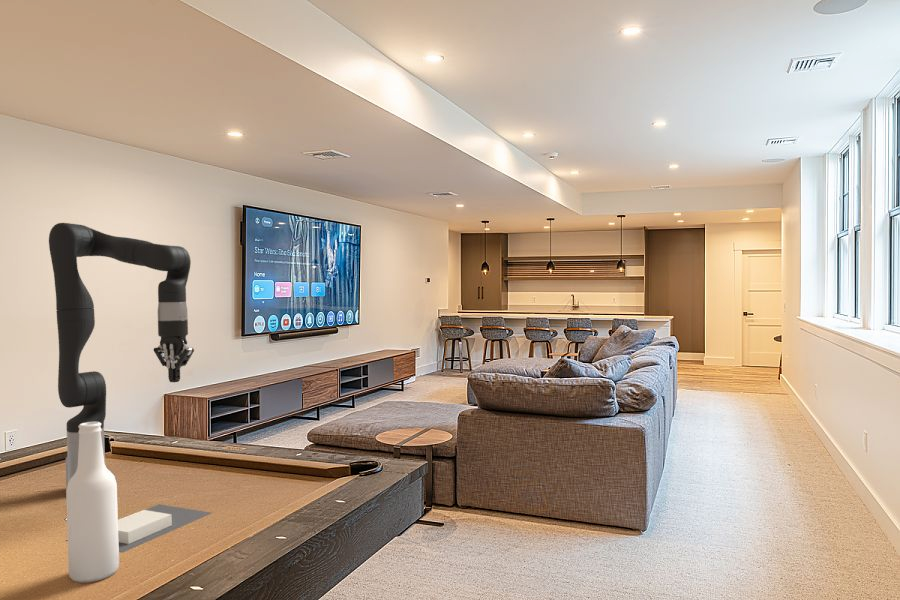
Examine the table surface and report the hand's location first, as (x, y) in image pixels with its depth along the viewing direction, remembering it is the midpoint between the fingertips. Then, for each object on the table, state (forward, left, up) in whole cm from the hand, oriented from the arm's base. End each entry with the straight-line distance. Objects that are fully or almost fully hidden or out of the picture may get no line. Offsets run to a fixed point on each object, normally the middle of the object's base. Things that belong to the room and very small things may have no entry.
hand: (174, 381), depth 179 cm
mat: (+12, -22, -31) cm, 40 cm away
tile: (+14, -19, -29) cm, 38 cm away
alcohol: (+24, -44, -31) cm, 59 cm away
